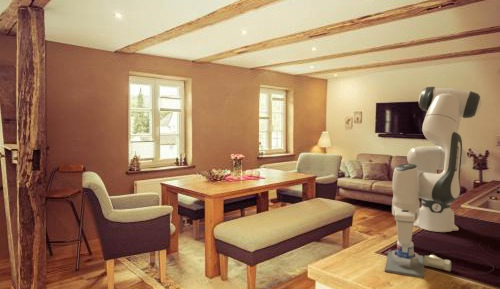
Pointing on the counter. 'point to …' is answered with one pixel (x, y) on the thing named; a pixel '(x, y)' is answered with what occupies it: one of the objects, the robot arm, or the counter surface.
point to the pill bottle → (404, 254)
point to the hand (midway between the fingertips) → (405, 248)
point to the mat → (412, 271)
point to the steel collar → (404, 260)
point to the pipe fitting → (437, 262)
